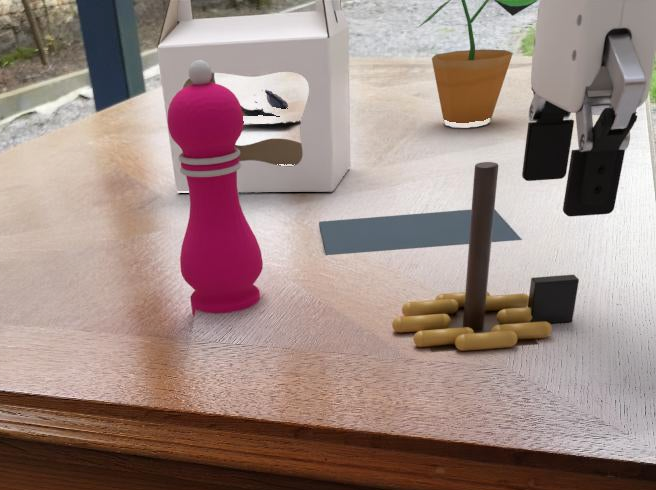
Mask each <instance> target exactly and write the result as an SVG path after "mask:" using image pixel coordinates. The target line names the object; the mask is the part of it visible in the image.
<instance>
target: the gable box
mask: <svg viewBox="0 0 656 490" xmlns="http://www.w3.org/2000/svg"><path fill="white" fill-rule="evenodd" d="M314 2H315V3H314V5H315V10H311V11H296V12H295V11H294V12H283V13H280V12H279V13H267V14H252V15H250V14H249V15H236V16H221V17H207V18H206V17H205V18H194V9H193V8H194V7H193V1H192V0H168V1H167V6H166V9H165V13H164V17H163V21H162V24H161V29H160V33H159V35H158V36H159V37H158V41H157V45H156V53H157V59H158V60H157V61H158V67H159V73H160V80H161V88H162V95H163V102H164V110H165V111H164V112H165V117H166V124H167V125H166V126H168V120H167V119H168V109H169V105H170V103H171V101H172V99H173V97H174V96H175V95H176V94H177V93H178V92H179V91H180V90H182V89H183V88H185V87H187V86H189V85H192V84H193V83H192V81H191V80H190V77H189V68H190V66H191V64H192V63H193V62H194V61H196V60H203V61H205V62H207V63H208V64H209V66H210V68H211V71H212V77H211V80H210V82H209V83H215V84H217V83H216V80H215V74H226V75H232V76H239V77H248V78H254V77H262V76H266V75H271V74H278V73H293V74H298V75H300V76H302V77H303V78H304V79H305V80H306V82H307V85H308V95H307V99H306V103H305V105H304V108H303V112H302V117H301V119H300V126H299V140H300V141H296V140H292V139H287V138H267V139H263V140H260V141H257V142H254V143H250V144H243V145H239V144H235V148H238V149H239V150H240V155H239V161H240V162H241V167H240V169H238V170H237V190H238V192H332V193H333V192H334V191H335V190H336V188H337V187H338V185H339V184H340V182H341V181H342V179H343V178H344V177H343V176H345V175H346V174H345V173H348V171H349V170H348V168H349V167H350V168H351V102H350V101H351V100H350V99H351V98H350V97H351V96H350V93H351V92H350V88H351V87H350V26H349V23H348V20H347V18H346V14H345V12H344V10H343V9H344V8H343V7H342V0H314ZM167 132H168V139H169V147H170V153H171V160H172V169H173V175H174V176H173V177H174V182H175V183H174V184H175V189H176V190H177V191H189V187H188V182H187V178H186V175H183V174H182V173H181V171H180V168H181V162H180V161H179V155H180V154H181V153H183V152H182V149H181V148H180V146H179V145H178V144H177V143H176V142H175V141H174V140H173V139H172V137H171V135H170V132H169V128H168V127H167ZM277 164H278V165H277ZM279 164H284V165H285V164H286V165H287V164H292V165H294V164H295V165H294V166H281V165H279ZM350 168H349V169H350ZM347 170H348V171H347ZM176 190H175V191H176ZM177 191H176V192H177Z"/></svg>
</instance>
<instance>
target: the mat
mask: <svg viewBox="0 0 656 490" xmlns="http://www.w3.org/2000/svg"><path fill="white" fill-rule="evenodd" d="M471 211H472V208H471V209H460V210H447V211H446V210H445V211H435V212H421V213H411V214H410V213H409V214H398V215H386V216H385V215H384V216H374V217H373V216H372V217H361V218H360V217H359V218H346V219H337V220H335V219H334V220H323V221H319V222H318V225H319V226H318V227H319V231H320V236H321V239H322V245H323V249H324V253H325V256H333V255H334V256H336V255H349V254H360V253H361V254H362V253H372V252H384V251H386V252H387V251H398V250H399V251H400V250H411V249H424V248H437V247H449V246H461V245H469V237H470V224H471ZM522 240H523V239H522V238H521V237H520V235H519V234H518V233H517V232H516V231H515V230H514V229H513V227H511V226H510V224H509V223H508V222H507V221H506V220H505V219H504V218H503V216H502V215H501V214H500V213H499V212H498V211H497V210H496V209H495V208H494V219H493V230H492V241H491V243H501V242H513V241H522Z"/></svg>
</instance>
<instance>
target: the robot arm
mask: <svg viewBox="0 0 656 490" xmlns="http://www.w3.org/2000/svg"><path fill="white" fill-rule="evenodd" d="M655 60H656V0H539V3H538V8H537V17H536V23H535V31H534V38H533V46H532V58H531V70H530V85H531V91H532V93H533V96H532V100H531V102H530V105H529V108H528V109H529V110H528V120H529V122H527V130H526V139H525V148H524V155H523V163H522V164H523V165H522V172H521V176H522V178H523V180H525V181H526V182H533V181H535V182H536V181H550V180H560V179H561V180H562V179H564V178H565V177H566V175H567V179H566V186H565V191H564V200H563V205H562V211H563V213H564V214H565V216H567V217H584V216H585V217H586V216H599V215H609V214H611V213H612V212H614V209H615V207H616V200H617V195H618V189H619V185H620V180H621V174H622V168H623V163H624V158H625V153H626V150H627V149H628V147H629V145H630V141H631V130H632V129H633V127H634V125H635V123H636V122H637V120H638V115H637V109H639V108H640V107H641V106H642V105H643V104H644V103H645V102H646V101H647V100H648V98H649V94H650V90H651V85H652V79H653V72H654V67H655ZM571 114H575V120H574V119H569V118H570V116H571ZM593 116H598V118H597V120H596V122H595V124H594V123H593V122H594V121H593ZM575 122H576V133H577V134H576V135H577V144H578V149H571V144H572V137H573V131H574V124H575ZM570 149H571V150H570ZM569 157H570V159H569ZM568 164H569V167H568ZM567 171H568V173H567Z"/></svg>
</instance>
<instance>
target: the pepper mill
mask: <svg viewBox="0 0 656 490" xmlns="http://www.w3.org/2000/svg"><path fill="white" fill-rule="evenodd" d="M189 77H190V80H191V81H192V83H193V84H192V85H189V86H187V87H185V88H183V89H182V90H180V91H179V92H178V93H177V94H176V95H175V96H174V97H173V99H172V101H171V103H170V105H169V109H168V119H167V118H166V121H167V120H168V125H167V129H168V128H169V132H170V135H171V137H172V139H173V140H174V141H175V142H176V143H177V144H178V145H179V146H180V148H181V149H182V152H183V153H181V154H180V155H179V161H180V162H181V168H180V171H181V173H182V174H183V175H186V178H187V182H188V187H189V194H188V195H189V215H188V216H189V217H188V222H187V225H186V229H185V233H184V237H183V240H182V243H181V250H180V258H179V261H180V262H179V263H180V265H179V266H180V273H181V276H182V278H183V280H184V281H185V282H186V283H187V285H189V286H190V287H191V288H192V289H193V290H194V291H193V292H192V293H191V294H190V297H189V298H190V299H189V300H190V306H191V312H192V313H191V314H192V316H193V317H195V315H196V310H197V311H198V312H202V313H208V314H227V313H228V314H229V313H236V312H240V311H242V310H246V309H249V308H251V307H252V306H254V305H256V304H257V303H258V302H259V301H260V299H261V292H260V289H259V287H257V286H256V285H255V283H256V281H257V280H258V279H259V277H260V275H261V273H262V271H263V268H264V263H263V261H264V260H263V256H262V250H261V247H260V244H259V242H258V238H257V236H256V235H255V233H254V232H253V230H252V228H251V226H250V224H249V223H248V220H247V218H246V216H245V214H244V213H243V208H242V204H241V203H240V196H239V193H238V190H237V170H238V169H240V167H241V162H240V161H239V155H240V150H239V149H238V148H235V145H237V144H236V143H237V141H238V140H239V139H240V136H241V135H242V132H243V129H244V125H245V124H244V121H243V113H242V109H241V106H242V105H241V103H240V101H239V99H238V98H237V96H236V95H235V94H234V92H233V91H232V90H230V89H229V88H228V87H226V86H225V85H222V84H219V83H216V82H215V83H216V84H215V83H209V82H210V80H211V77H212V71H211V68H210V66H209V64H208V63H207V62H205V61H203V60H196V61H194V62H193V63H192V64H191V66H190V68H189Z"/></svg>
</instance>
